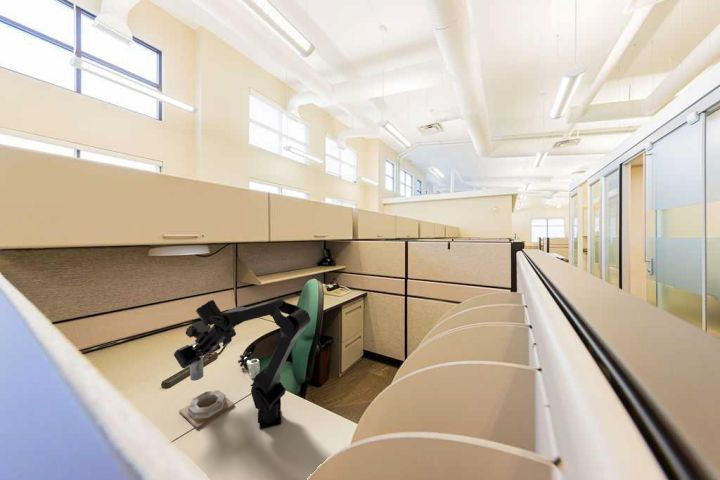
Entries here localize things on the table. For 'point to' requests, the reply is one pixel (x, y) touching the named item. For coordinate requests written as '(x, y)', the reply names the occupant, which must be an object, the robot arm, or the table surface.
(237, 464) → the table surface
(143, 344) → the table surface
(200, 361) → the metal pin
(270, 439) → the table surface
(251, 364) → the valve
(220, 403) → the bore block
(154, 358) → the table surface
